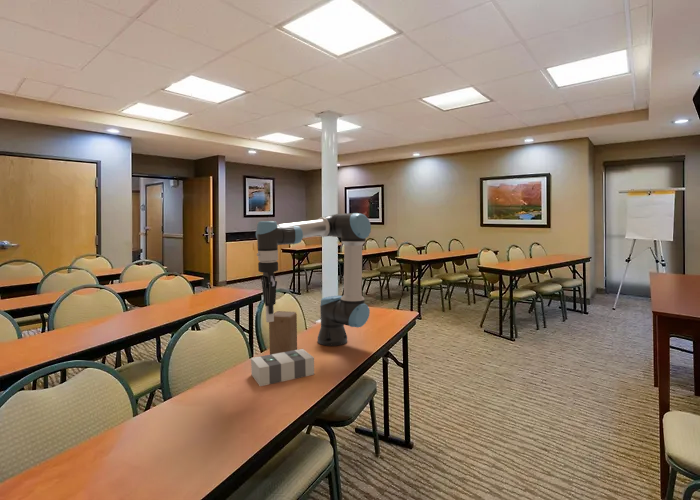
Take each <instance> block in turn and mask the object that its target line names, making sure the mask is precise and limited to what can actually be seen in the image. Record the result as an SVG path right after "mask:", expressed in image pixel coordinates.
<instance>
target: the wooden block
mask: <svg viewBox="0 0 700 500" xmlns="http://www.w3.org/2000/svg"><path fill="white" fill-rule="evenodd" d="M297 316H298V315H297V312H296V311H283V310H278V311H276V312H274V321H273V322H268V331H269V333H268V334H269V335H268V336H269V337H268V340H269V355H271V354H276V353H282V352H287V351H293V350H298V320H297Z"/></svg>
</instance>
